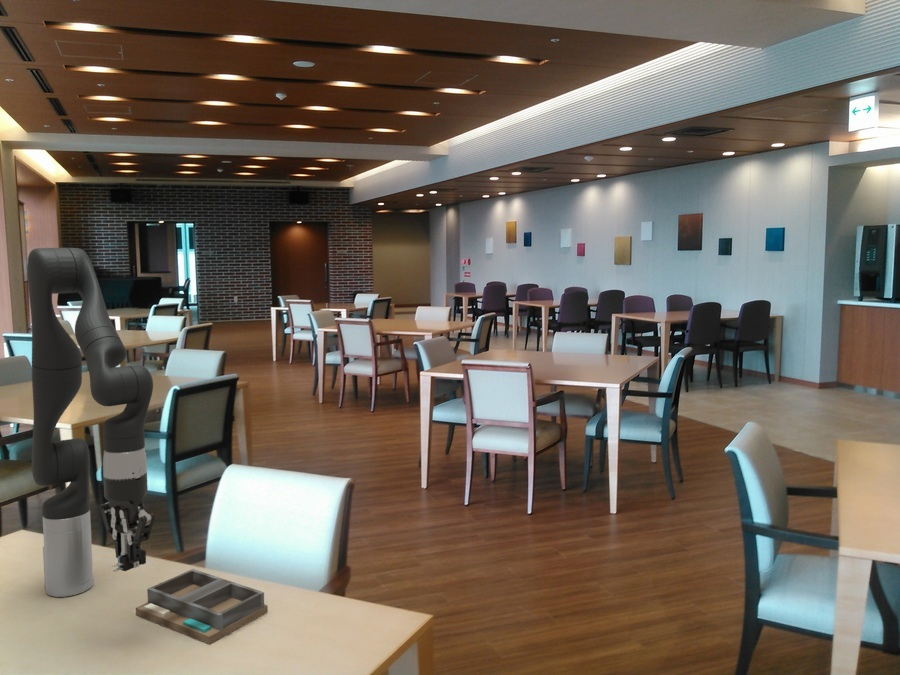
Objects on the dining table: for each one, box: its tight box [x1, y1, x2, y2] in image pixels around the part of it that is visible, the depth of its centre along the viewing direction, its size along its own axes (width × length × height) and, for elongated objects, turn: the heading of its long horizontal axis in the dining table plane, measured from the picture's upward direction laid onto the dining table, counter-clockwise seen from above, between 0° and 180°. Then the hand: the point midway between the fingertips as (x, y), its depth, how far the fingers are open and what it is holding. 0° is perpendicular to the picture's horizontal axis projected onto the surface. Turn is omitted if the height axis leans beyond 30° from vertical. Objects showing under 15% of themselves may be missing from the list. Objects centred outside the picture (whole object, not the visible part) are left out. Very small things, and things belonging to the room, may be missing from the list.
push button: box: [112, 521, 147, 573], centre depth 137 cm, size 7×5×10 cm
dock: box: [135, 568, 268, 645], centre depth 148 cm, size 22×15×4 cm
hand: (128, 559), depth 138 cm, fingers closed on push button, 3 cm apart
